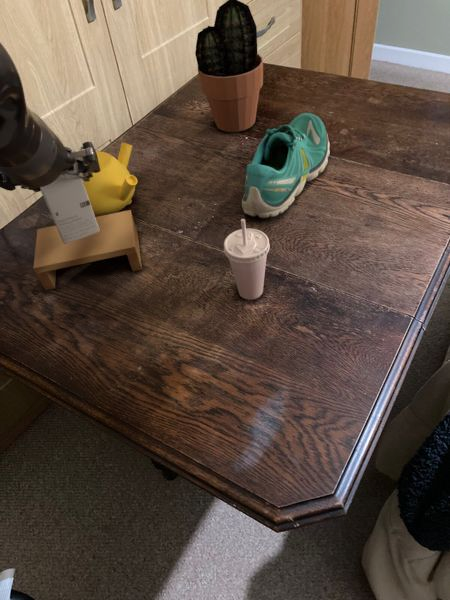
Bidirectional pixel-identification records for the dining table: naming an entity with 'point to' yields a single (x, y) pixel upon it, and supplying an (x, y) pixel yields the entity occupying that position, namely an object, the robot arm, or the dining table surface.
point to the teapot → (111, 183)
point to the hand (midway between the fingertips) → (61, 179)
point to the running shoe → (285, 165)
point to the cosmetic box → (70, 208)
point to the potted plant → (230, 67)
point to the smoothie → (247, 259)
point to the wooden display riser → (86, 246)
